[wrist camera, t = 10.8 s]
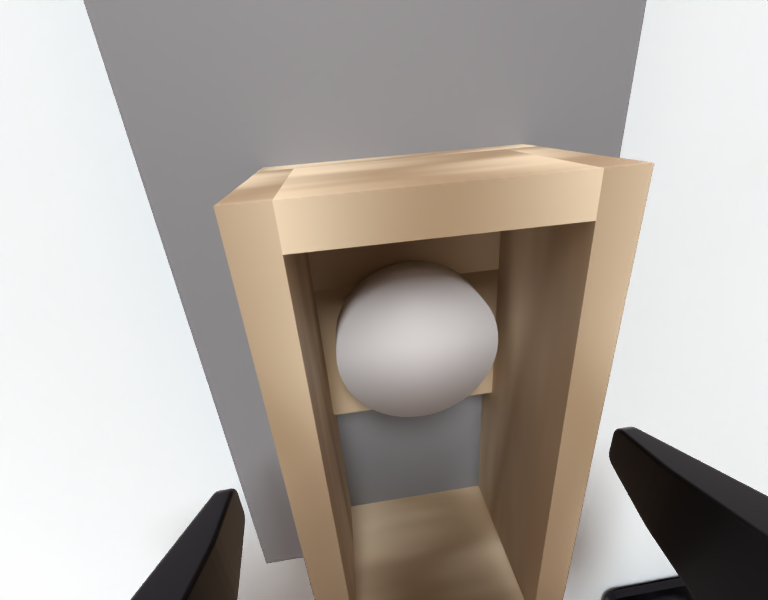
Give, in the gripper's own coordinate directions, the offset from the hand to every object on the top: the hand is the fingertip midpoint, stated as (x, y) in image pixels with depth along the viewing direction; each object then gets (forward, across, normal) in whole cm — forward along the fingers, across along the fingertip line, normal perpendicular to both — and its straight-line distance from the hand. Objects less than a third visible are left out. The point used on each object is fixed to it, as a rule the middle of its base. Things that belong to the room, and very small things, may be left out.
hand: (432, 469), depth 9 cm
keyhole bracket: (+4, 0, 0) cm, 4 cm away
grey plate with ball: (+5, 0, -2) cm, 6 cm away
